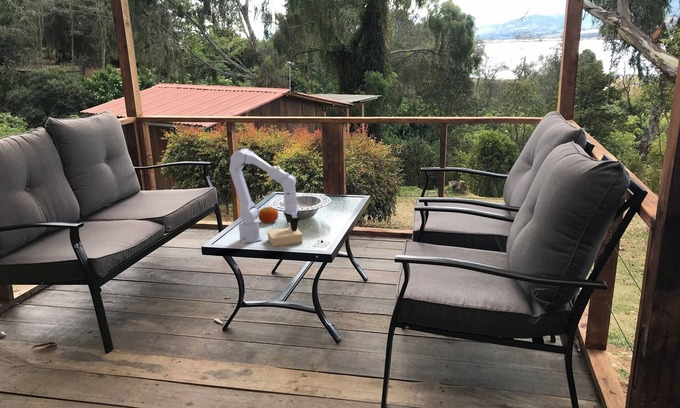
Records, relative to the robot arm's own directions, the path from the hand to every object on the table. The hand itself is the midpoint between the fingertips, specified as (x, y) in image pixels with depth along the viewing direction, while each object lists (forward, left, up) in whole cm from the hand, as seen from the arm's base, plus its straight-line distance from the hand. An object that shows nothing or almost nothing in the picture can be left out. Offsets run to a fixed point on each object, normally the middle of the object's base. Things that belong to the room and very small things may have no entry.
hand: (292, 228), depth 242 cm
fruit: (-5, +36, -6) cm, 37 cm away
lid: (-4, 0, -2) cm, 4 cm away
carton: (-4, 0, -6) cm, 7 cm away
